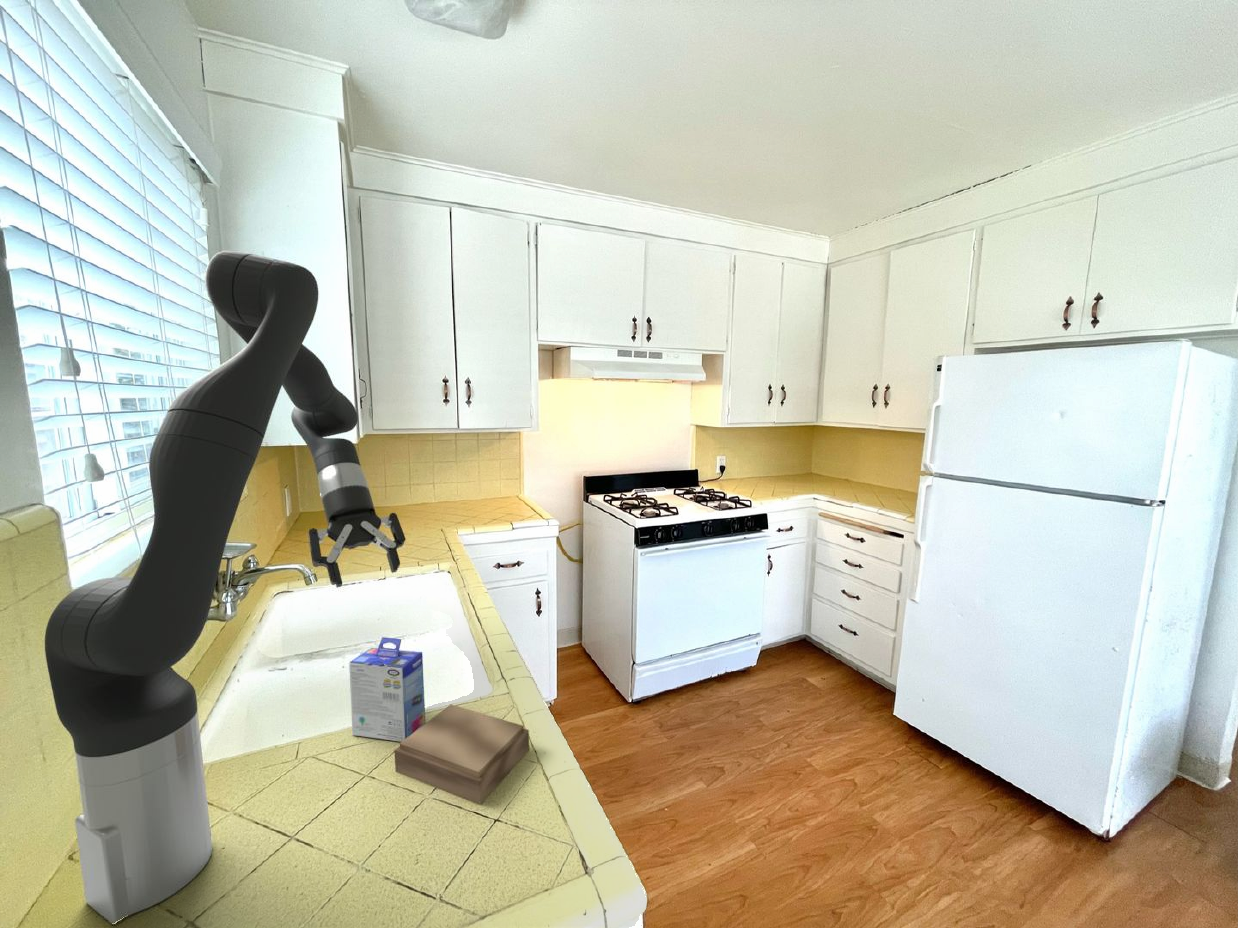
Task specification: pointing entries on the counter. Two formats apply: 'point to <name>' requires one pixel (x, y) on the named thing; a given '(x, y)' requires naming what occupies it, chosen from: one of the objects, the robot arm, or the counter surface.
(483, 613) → the counter surface
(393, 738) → the ink cartridge box
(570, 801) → the counter surface
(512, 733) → the walnut stand
